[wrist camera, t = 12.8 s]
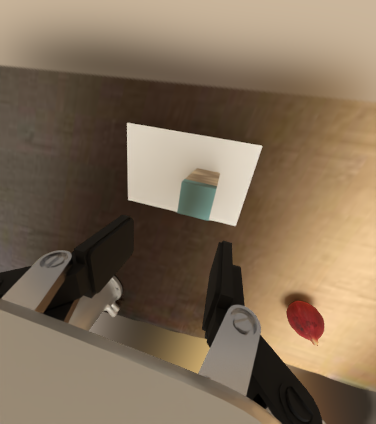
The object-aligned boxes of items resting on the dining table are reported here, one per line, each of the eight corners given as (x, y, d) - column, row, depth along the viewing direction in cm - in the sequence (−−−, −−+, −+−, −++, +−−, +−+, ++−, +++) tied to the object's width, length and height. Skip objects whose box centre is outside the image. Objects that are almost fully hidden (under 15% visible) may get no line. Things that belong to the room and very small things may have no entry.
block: (220, 172, 26) (216, 189, 18) (214, 195, 28) (208, 220, 19) (196, 168, 27) (181, 181, 18) (192, 190, 29) (177, 212, 20)
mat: (261, 145, 24) (262, 145, 24) (235, 224, 30) (235, 226, 30) (128, 122, 27) (126, 122, 27) (129, 198, 33) (128, 199, 33)
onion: (276, 301, 36) (288, 342, 28) (295, 287, 33) (313, 328, 26) (298, 314, 36) (316, 358, 28) (319, 301, 33) (345, 345, 26)
